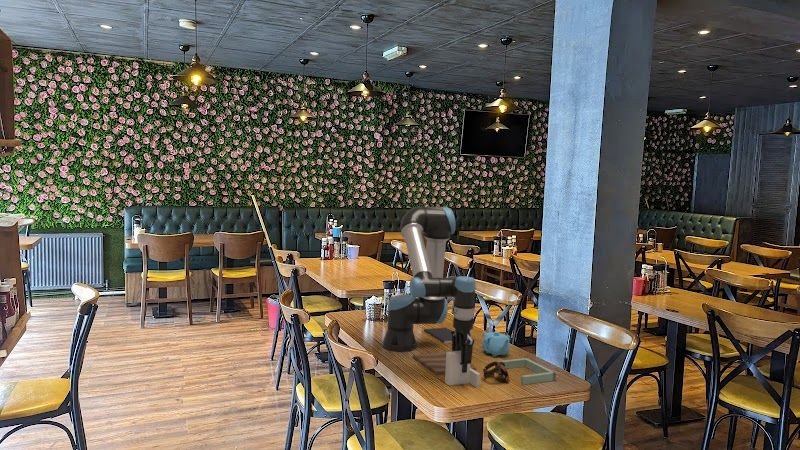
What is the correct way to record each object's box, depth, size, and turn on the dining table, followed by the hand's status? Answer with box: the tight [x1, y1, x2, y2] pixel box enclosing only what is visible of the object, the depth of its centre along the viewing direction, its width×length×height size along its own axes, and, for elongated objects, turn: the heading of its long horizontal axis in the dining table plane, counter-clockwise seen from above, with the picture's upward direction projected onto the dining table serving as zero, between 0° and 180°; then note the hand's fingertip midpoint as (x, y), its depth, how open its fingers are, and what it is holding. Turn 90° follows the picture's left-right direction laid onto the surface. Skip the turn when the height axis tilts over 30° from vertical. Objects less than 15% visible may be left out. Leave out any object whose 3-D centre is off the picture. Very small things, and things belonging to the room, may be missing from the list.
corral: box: [497, 357, 557, 386], centre depth 226 cm, size 19×16×3 cm
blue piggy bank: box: [481, 331, 511, 358], centre depth 251 cm, size 18×14×10 cm
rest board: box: [412, 351, 477, 376], centre depth 235 cm, size 22×18×1 cm
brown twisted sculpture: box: [482, 360, 510, 384], centre depth 219 cm, size 12×10×8 cm
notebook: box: [423, 327, 456, 344], centre depth 277 cm, size 13×2×21 cm
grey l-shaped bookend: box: [444, 350, 481, 388], centre depth 213 cm, size 13×10×12 cm
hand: (460, 378), depth 214 cm, fingers closed on grey l-shaped bookend, 3 cm apart
